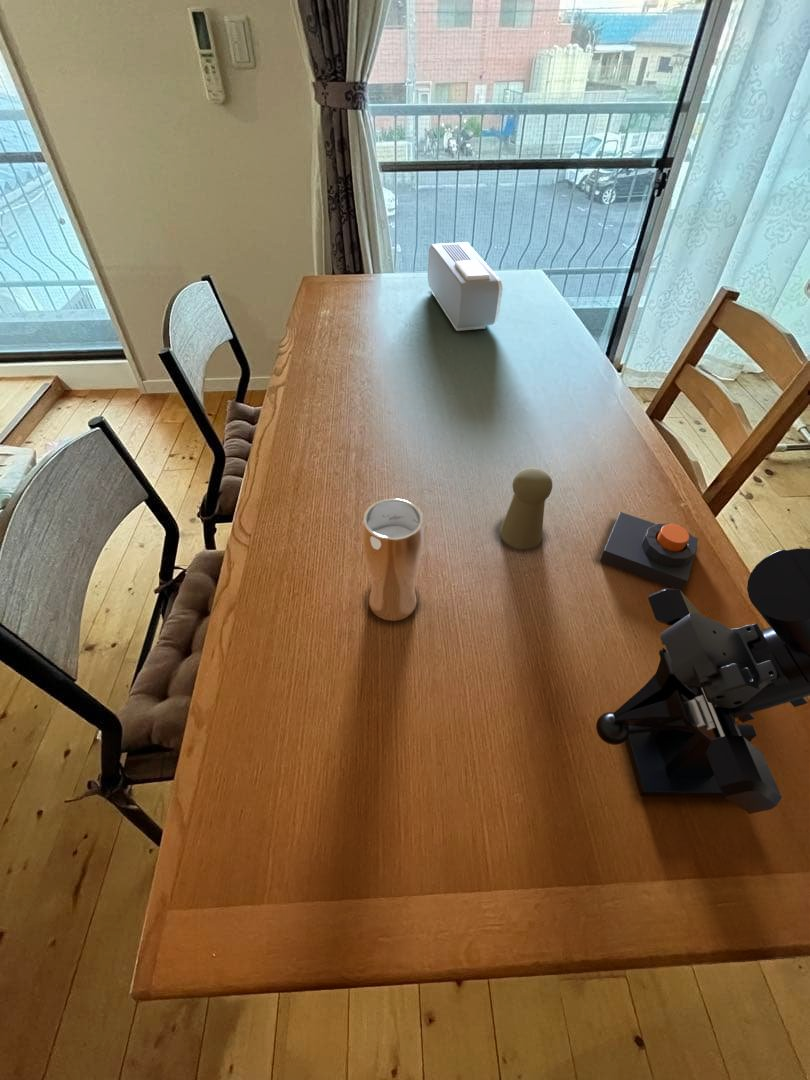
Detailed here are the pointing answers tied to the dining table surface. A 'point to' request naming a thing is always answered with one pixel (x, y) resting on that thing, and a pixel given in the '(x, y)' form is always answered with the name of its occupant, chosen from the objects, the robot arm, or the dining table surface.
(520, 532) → the olive game pawn
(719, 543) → the dining table surface
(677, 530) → the button
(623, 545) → the button box
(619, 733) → the switch
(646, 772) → the switch bracket
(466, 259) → the alarm clock
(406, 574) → the beer glass
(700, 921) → the dining table surface
